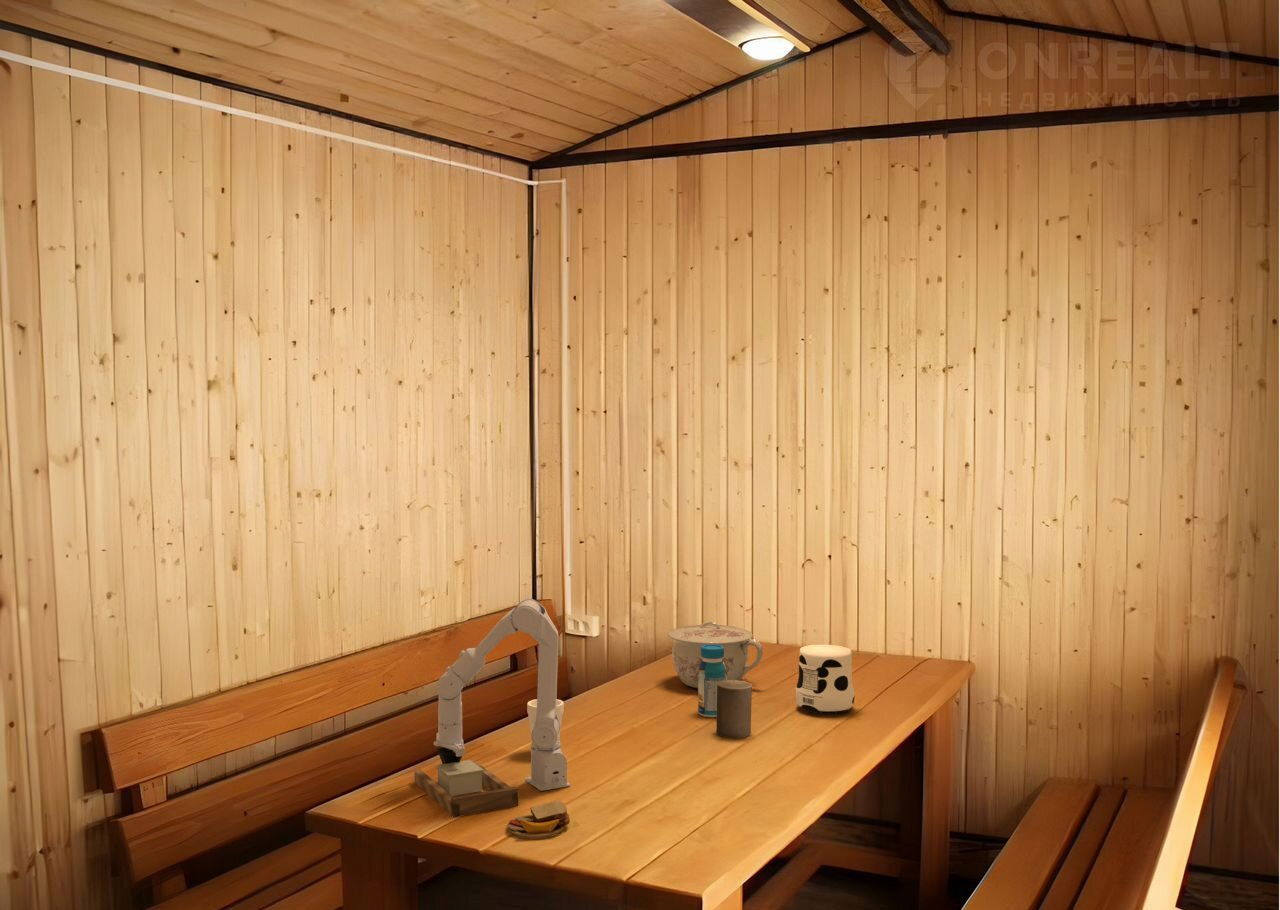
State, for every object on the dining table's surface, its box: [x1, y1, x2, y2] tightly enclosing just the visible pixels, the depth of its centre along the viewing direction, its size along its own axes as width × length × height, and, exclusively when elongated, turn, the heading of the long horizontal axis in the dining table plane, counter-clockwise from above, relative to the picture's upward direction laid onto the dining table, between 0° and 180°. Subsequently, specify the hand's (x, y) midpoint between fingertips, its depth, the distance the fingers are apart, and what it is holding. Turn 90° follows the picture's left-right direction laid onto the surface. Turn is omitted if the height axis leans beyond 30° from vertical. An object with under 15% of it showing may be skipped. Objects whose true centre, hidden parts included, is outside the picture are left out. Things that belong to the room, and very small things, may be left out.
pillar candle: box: [715, 680, 753, 739], centre depth 327 cm, size 10×10×15 cm
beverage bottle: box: [697, 644, 727, 718], centre depth 346 cm, size 8×8×20 cm
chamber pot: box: [667, 620, 764, 690], centre depth 380 cm, size 28×28×21 cm
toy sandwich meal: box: [506, 800, 571, 839], centre depth 255 cm, size 12×14×5 cm
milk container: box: [795, 644, 856, 715], centre depth 351 cm, size 17×17×18 cm
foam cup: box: [526, 698, 565, 740], centre depth 309 cm, size 10×9×13 cm
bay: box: [414, 760, 519, 818], centre depth 277 cm, size 26×16×4 cm, turn 29°
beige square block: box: [435, 759, 484, 797], centre depth 280 cm, size 9×9×5 cm
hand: (450, 778), depth 285 cm, fingers closed
